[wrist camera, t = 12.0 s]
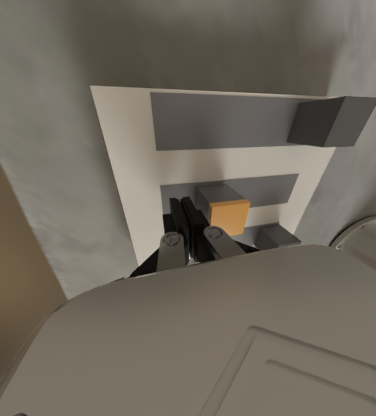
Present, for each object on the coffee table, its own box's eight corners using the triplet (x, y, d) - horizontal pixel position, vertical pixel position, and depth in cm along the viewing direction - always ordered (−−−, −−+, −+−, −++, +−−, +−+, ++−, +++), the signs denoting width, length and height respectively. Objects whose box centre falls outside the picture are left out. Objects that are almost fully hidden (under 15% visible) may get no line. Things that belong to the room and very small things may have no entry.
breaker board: (325, 102, 15) (420, 90, 10) (276, 227, 24) (312, 256, 19) (103, 94, 11) (59, 66, 6) (140, 249, 20) (137, 296, 14)
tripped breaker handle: (227, 184, 14) (250, 202, 10) (223, 210, 15) (242, 233, 12) (197, 187, 13) (212, 207, 10) (196, 214, 15) (209, 239, 11)
